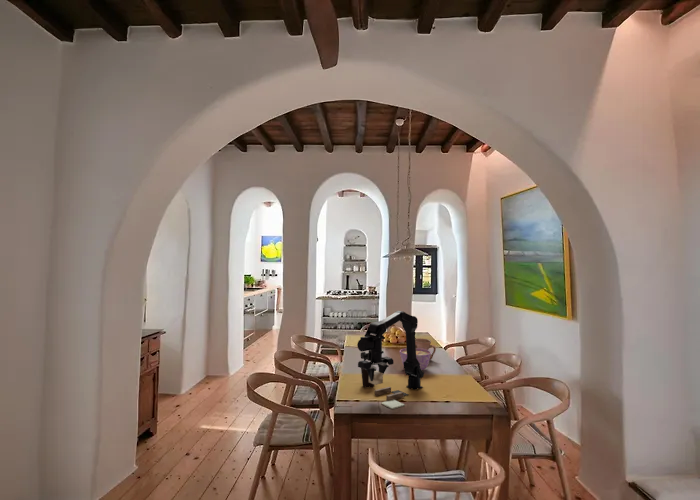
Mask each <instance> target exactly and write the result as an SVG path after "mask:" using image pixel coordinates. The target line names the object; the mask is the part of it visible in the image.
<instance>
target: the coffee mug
mask: <svg viewBox="0 0 700 500" xmlns="http://www.w3.org/2000/svg"><path fill="white" fill-rule="evenodd" d="M373 368H375V369H374V371H377V366H376V365H373ZM360 371H361V381H362V382H361V383H362V387H364V388H370V389H371V388H374V387H375V385H374V384H372V383H369V374H368V372H367V370H366V369H362V368H360Z"/></svg>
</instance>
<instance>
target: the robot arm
mask: <svg viewBox="0 0 700 500" xmlns="http://www.w3.org/2000/svg"><path fill="white" fill-rule="evenodd" d="M398 322H401V325H402V328H403V330H404V331H405V343H406V344H405V347H406V348H407V359H406V361H404V362H403V364H404V365H403V364H402V365H403V369H404V372H405V375H406V376H407V377H408V379H407V385H406V388H408V389H411V390H413V391H415V390H419V389H423V386H422V385H421V384H422V383H421V379H422V378H424V376H425V375H424V374H425V372H423V370H421V369H420V364H419V362H418V360H417V358H416V344H415V339H416V331H417V329H418V322H419V321H418V318H417V316H415V315H411V314H408V313H407V312H405V311H401V310H396V311H395V312H394V313H392V314H391V315H389V316H387V317H385V318H383V319H382V320H379V321H373V322H371V323H370V324H369V326H368V328H367V329H366V332H365V334H364V336H360V339H359V340H358V341H357V345H356V346H357V349H358V350H359V352H360V359H361V360H358V362H357V368H360V369H361V368H362V369H366V370H367V372H368V374H369V377H370V380H371V381H373V376H374V369H375V368H373V366H377V368H378V371H379V372H381V373H383V375H384V374H385V372H386V371H387V369H388V368H389V366H390V365H391V366H392V365H394V364H395V363H394V359H393V358H392V357H389V356H383V354H384V350H383V340H385V339H386V337H385V336H384V334H385V333H386V332H387V329H389V328H391V327H392V326H393V325H394V324H395V325H396V323H398ZM366 352H367V353H366Z"/></svg>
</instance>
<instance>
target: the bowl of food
mask: <svg viewBox="0 0 700 500" xmlns="http://www.w3.org/2000/svg"><path fill="white" fill-rule="evenodd" d="M399 355H400V359H401V363H402V364H401V365H403V366H404V364H403V362H404V361H406V359H407V348H401V349H400V350H399ZM431 355H432V352H431V350H429V349H428V350H426V349H420V348H416V358H417V360H418V362H419V364H420V369H421V370H422V371H423V370H425V369H427V368H428V367H429V364H430V361H431V360H430V356H431ZM429 360H430V361H429Z"/></svg>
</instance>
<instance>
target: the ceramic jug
mask: <svg viewBox="0 0 700 500" xmlns="http://www.w3.org/2000/svg"><path fill="white" fill-rule="evenodd" d="M431 343H432V341H431V340H430V339H428V338H421V337H420V338H415V344H416V348H420V349H426V350H429V349H430V348H433V351H432V352H431V356H430V360H429V362H430V361H431V360H432V359H433V357H434V355H435V353H436V349H437V347H436V346H435V345H433V344H431Z"/></svg>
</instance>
